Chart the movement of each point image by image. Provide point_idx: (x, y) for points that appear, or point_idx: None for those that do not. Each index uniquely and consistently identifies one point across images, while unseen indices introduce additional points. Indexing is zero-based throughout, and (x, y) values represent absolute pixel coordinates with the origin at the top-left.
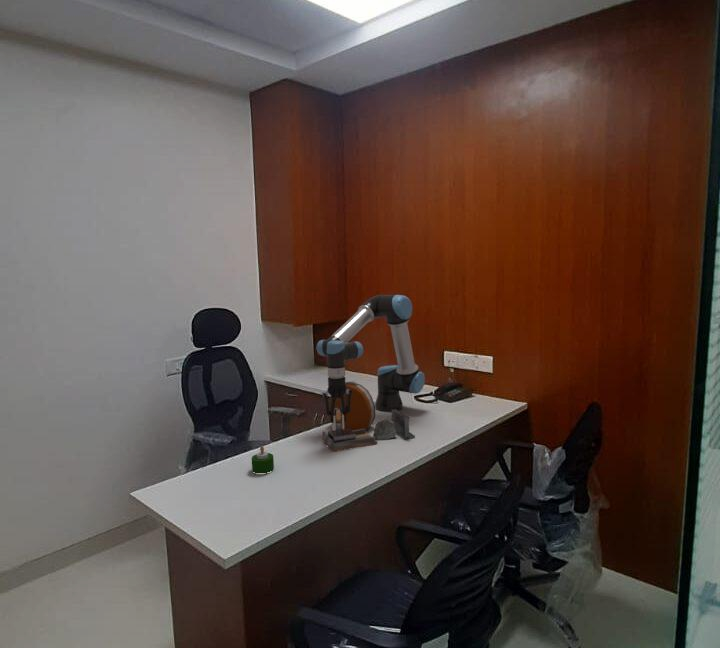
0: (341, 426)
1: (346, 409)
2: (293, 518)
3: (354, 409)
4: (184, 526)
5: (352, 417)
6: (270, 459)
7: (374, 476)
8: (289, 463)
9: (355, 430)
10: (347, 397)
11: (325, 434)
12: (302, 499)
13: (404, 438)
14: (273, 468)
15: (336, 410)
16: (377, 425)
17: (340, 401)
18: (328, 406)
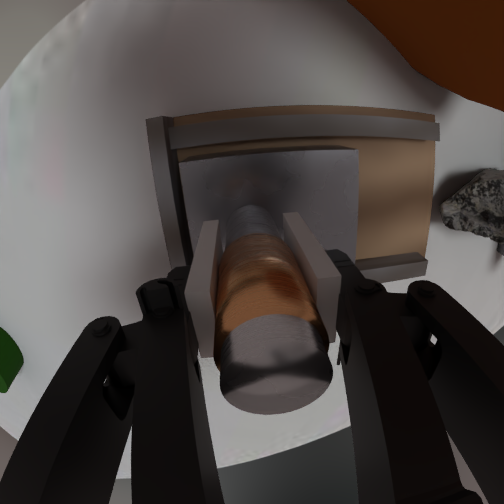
0: (286, 240)
1: (408, 334)
2: (122, 475)
3: (480, 11)
4: (7, 431)
5: (426, 9)
6: (7, 390)
7: (282, 445)
8: (44, 335)
9: (391, 126)
10: (498, 484)
11: (159, 182)
12: (124, 459)
13: (499, 247)
14: (20, 361)
15: (245, 401)
16: (492, 206)
17: (372, 479)
18: (114, 469)
